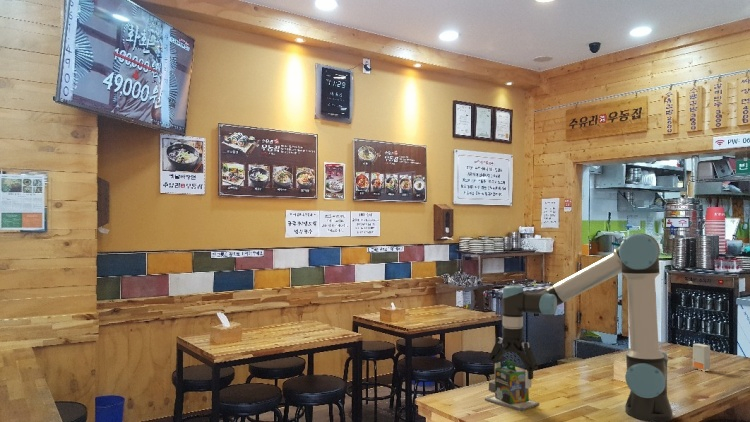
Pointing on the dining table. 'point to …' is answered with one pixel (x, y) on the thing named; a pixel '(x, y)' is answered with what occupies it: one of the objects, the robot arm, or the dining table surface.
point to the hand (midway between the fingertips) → (512, 383)
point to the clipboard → (516, 406)
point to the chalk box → (511, 384)
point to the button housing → (492, 386)
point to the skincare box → (701, 356)
